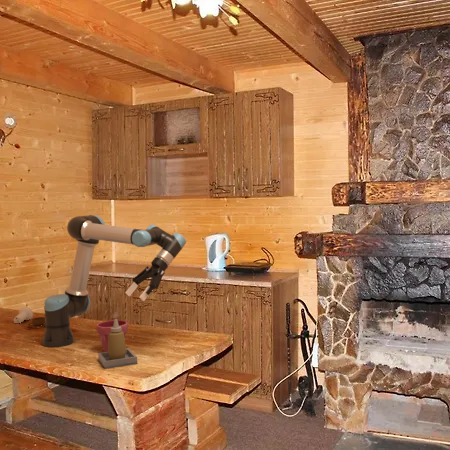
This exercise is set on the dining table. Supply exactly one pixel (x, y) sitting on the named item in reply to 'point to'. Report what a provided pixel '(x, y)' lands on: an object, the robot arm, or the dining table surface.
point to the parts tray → (117, 360)
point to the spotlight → (23, 315)
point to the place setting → (37, 322)
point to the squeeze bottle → (116, 342)
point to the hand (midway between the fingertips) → (134, 297)
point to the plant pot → (105, 329)
